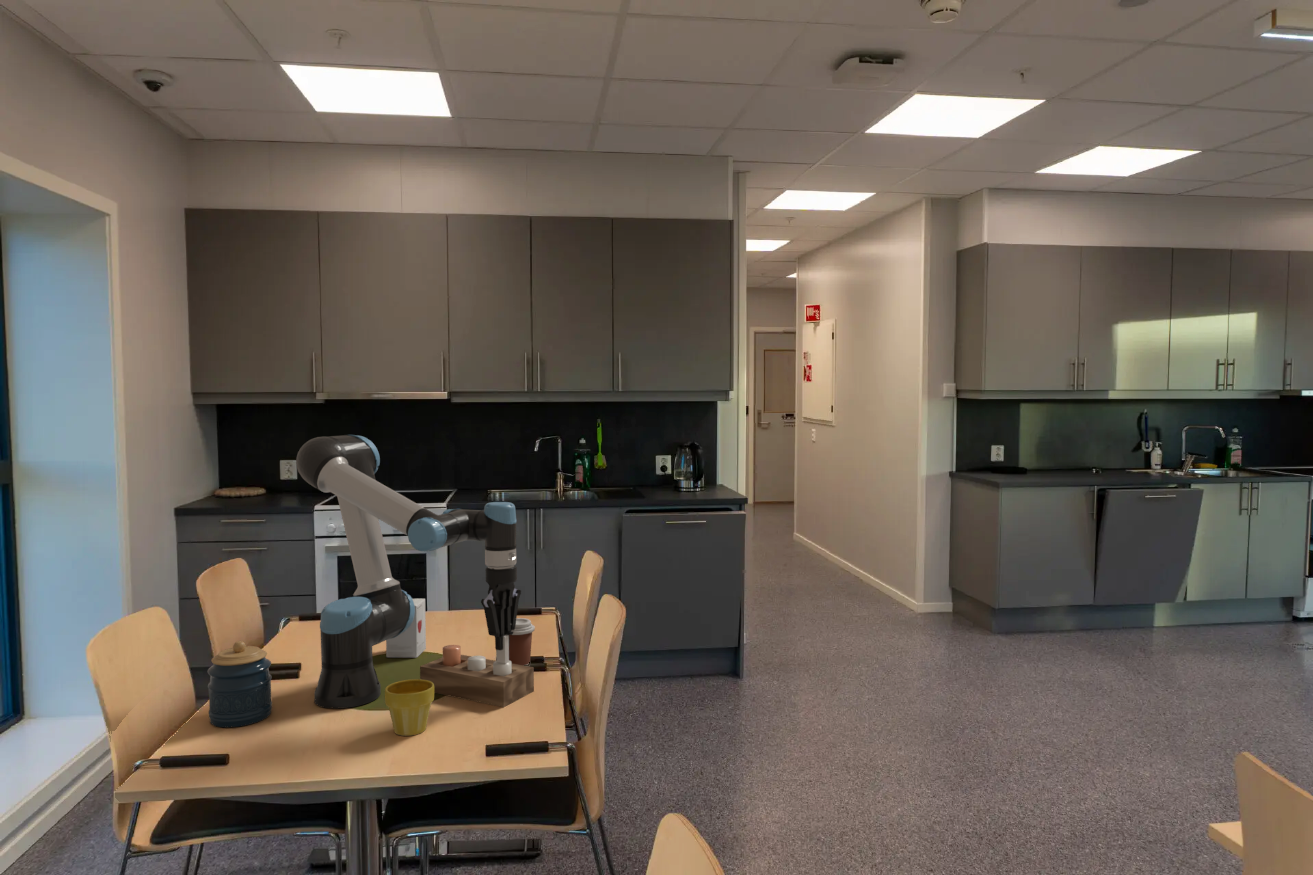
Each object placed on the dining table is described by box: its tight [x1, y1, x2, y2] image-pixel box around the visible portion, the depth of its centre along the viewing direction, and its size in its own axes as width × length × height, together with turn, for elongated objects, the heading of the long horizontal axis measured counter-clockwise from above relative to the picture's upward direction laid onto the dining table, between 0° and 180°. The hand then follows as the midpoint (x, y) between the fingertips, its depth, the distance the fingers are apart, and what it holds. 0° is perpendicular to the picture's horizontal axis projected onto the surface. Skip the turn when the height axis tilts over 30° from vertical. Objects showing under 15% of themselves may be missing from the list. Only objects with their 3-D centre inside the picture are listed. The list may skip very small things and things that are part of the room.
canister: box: [206, 640, 273, 728], centre depth 186 cm, size 13×13×18 cm
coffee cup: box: [509, 617, 536, 666], centre depth 223 cm, size 9×9×12 cm
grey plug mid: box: [468, 655, 487, 671], centre depth 203 cm, size 4×4×7 cm
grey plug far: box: [493, 660, 512, 676], centre depth 200 cm, size 4×4×7 cm
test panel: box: [419, 654, 535, 708], centre depth 203 cm, size 12×26×6 cm, turn 63°
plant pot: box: [384, 678, 435, 737], centre depth 179 cm, size 10×10×10 cm
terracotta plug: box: [442, 644, 462, 667], centre depth 207 cm, size 4×4×7 cm
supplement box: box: [385, 598, 427, 659], centre depth 234 cm, size 9×9×15 cm
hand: (502, 661), depth 200 cm, fingers closed
